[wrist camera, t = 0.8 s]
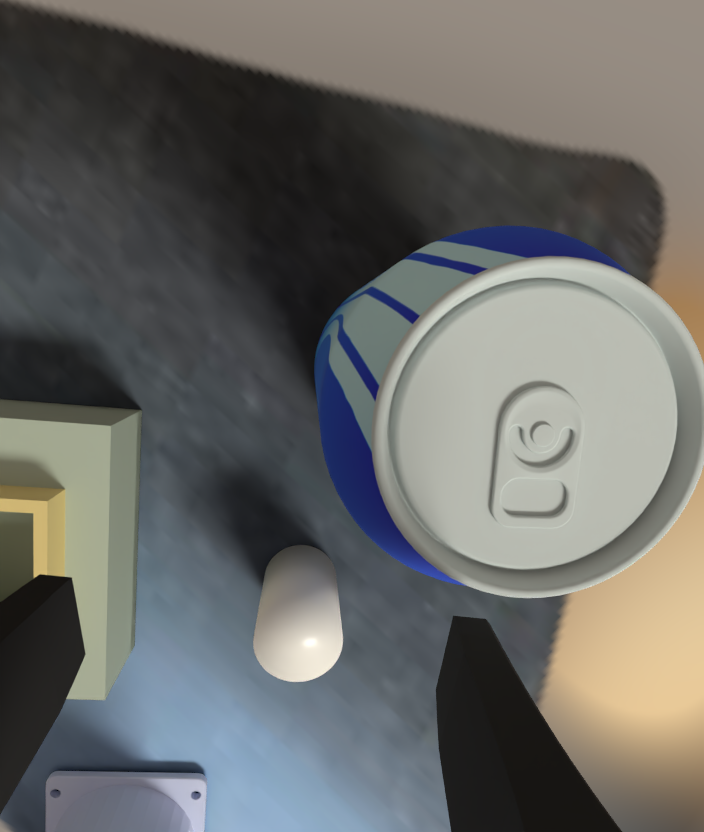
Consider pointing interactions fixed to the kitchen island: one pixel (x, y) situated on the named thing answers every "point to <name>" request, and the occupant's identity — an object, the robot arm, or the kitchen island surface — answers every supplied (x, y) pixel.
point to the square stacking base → (75, 520)
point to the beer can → (511, 412)
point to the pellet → (298, 615)
